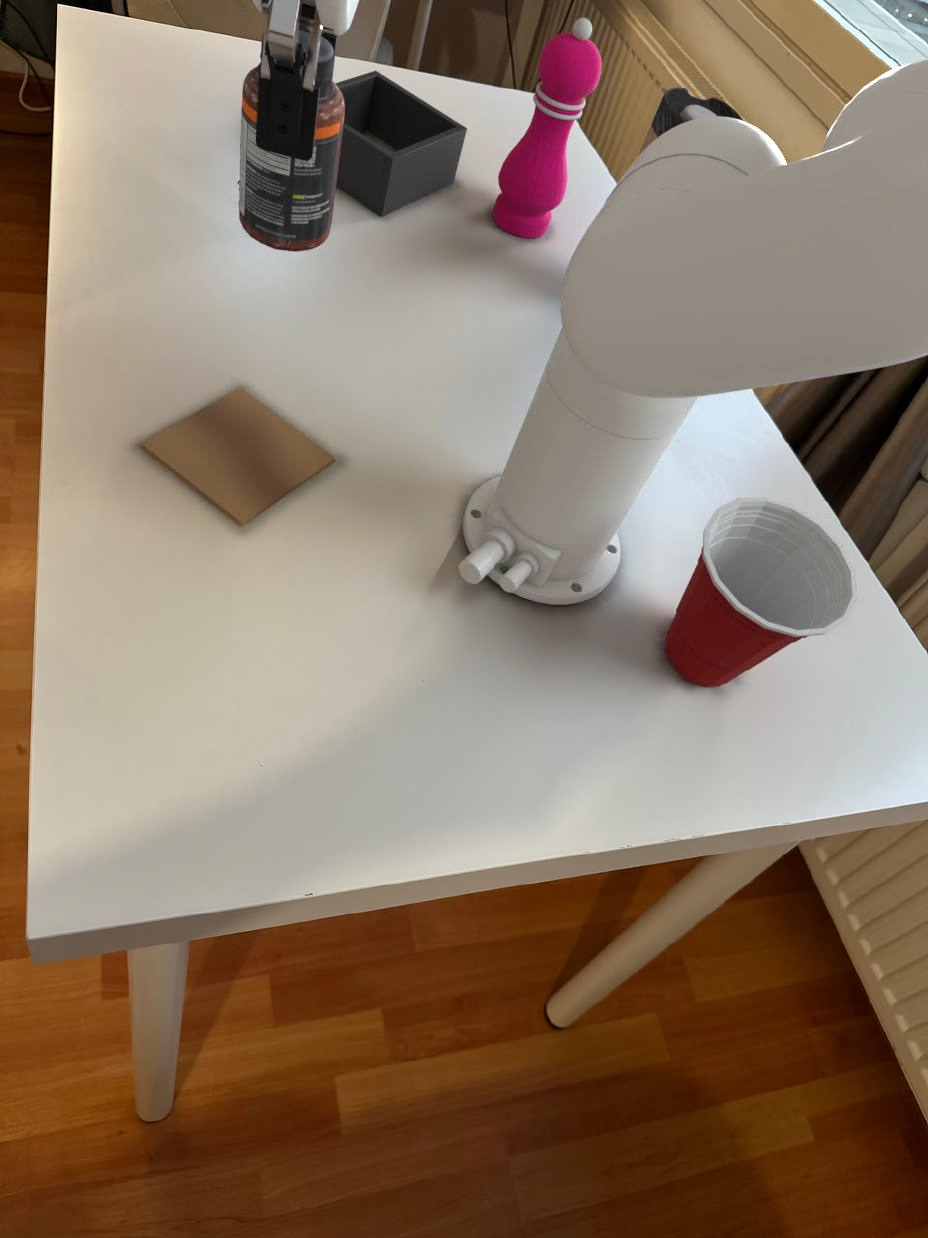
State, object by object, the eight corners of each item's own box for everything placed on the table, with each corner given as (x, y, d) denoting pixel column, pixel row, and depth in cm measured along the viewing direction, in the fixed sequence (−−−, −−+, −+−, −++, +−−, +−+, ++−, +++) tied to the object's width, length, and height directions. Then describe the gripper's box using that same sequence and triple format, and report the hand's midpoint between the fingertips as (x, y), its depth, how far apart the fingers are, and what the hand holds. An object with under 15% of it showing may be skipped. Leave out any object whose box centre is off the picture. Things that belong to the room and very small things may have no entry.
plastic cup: (616, 681, 63) (692, 580, 53) (648, 578, 69) (721, 472, 60) (754, 745, 62) (856, 656, 53) (773, 635, 69) (866, 539, 60)
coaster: (241, 526, 62) (242, 522, 62) (141, 447, 64) (141, 443, 64) (335, 461, 68) (335, 457, 68) (240, 390, 70) (240, 386, 69)
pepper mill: (552, 248, 94) (626, 46, 78) (487, 231, 93) (549, 23, 77) (550, 212, 98) (619, 14, 82) (488, 195, 97) (546, -9, 81)
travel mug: (616, 340, 87) (710, 139, 71) (564, 294, 89) (645, 90, 74) (663, 321, 91) (762, 128, 75) (612, 278, 93) (698, 82, 78)
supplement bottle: (283, 194, 60) (299, 8, 51) (348, 238, 59) (375, 56, 50) (217, 218, 56) (221, 24, 48) (284, 267, 55) (301, 76, 46)
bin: (381, 216, 89) (392, 159, 84) (289, 154, 91) (295, 95, 87) (453, 182, 96) (467, 128, 92) (366, 126, 99) (375, 69, 94)
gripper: (394, -222, 33) (336, 217, 48) (428, -300, 44) (372, 80, 58) (194, -290, 32) (196, 181, 46) (277, -354, 43) (258, 48, 57)
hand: (294, 122), depth 52 cm, fingers closed on supplement bottle, 6 cm apart
